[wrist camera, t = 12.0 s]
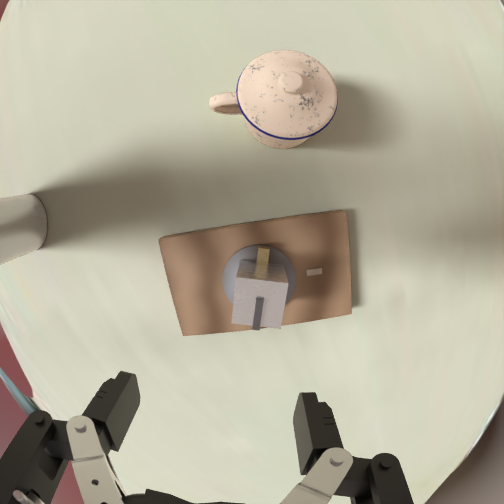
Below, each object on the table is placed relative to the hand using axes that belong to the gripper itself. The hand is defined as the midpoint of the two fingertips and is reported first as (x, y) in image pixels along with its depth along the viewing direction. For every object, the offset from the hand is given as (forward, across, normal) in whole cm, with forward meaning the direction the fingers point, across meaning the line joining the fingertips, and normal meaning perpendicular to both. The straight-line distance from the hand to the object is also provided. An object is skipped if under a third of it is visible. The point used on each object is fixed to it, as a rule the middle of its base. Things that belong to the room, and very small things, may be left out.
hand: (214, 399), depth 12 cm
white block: (+20, -3, +1) cm, 20 cm away
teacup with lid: (+23, -2, -19) cm, 30 cm away
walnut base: (+23, -3, +1) cm, 23 cm away
